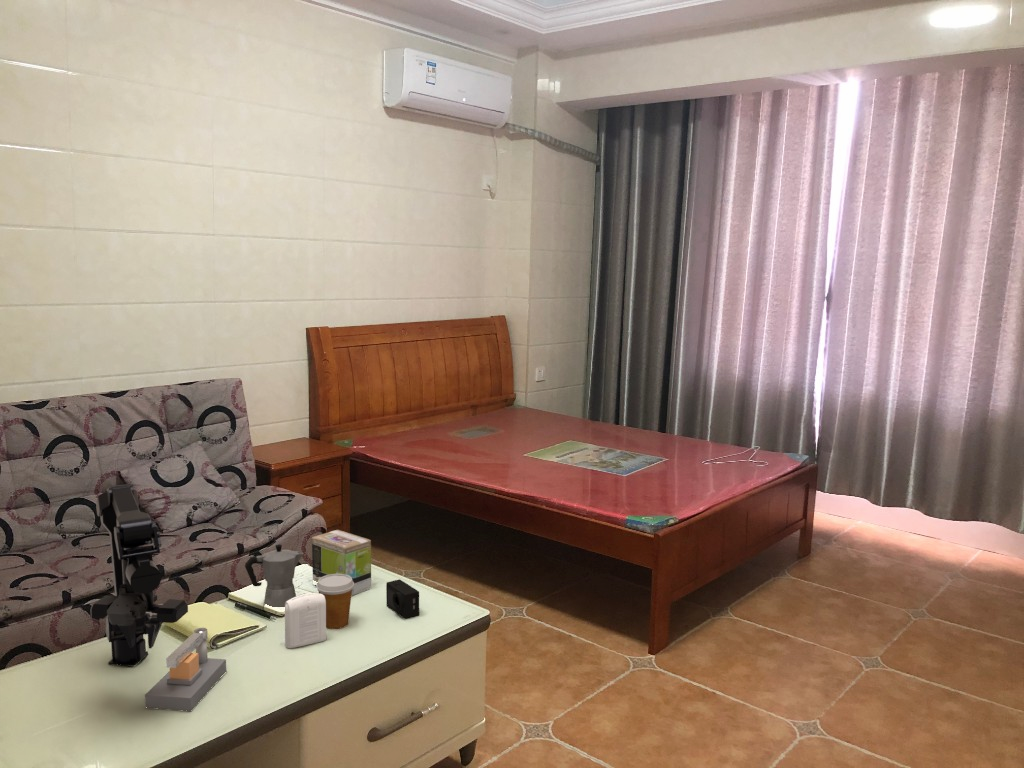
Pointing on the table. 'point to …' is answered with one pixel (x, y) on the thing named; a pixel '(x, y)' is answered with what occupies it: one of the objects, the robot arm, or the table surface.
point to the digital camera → (402, 599)
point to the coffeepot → (276, 574)
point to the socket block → (187, 694)
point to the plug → (186, 671)
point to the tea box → (343, 558)
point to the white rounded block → (305, 620)
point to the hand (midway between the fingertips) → (141, 647)
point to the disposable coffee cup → (336, 598)
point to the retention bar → (186, 647)
